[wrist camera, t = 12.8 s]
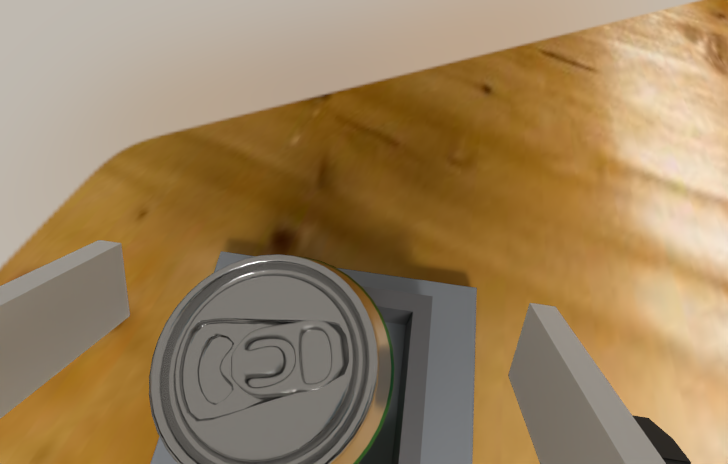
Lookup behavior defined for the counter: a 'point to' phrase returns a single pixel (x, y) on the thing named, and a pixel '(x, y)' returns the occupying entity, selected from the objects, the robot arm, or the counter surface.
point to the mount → (417, 369)
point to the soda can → (272, 367)
